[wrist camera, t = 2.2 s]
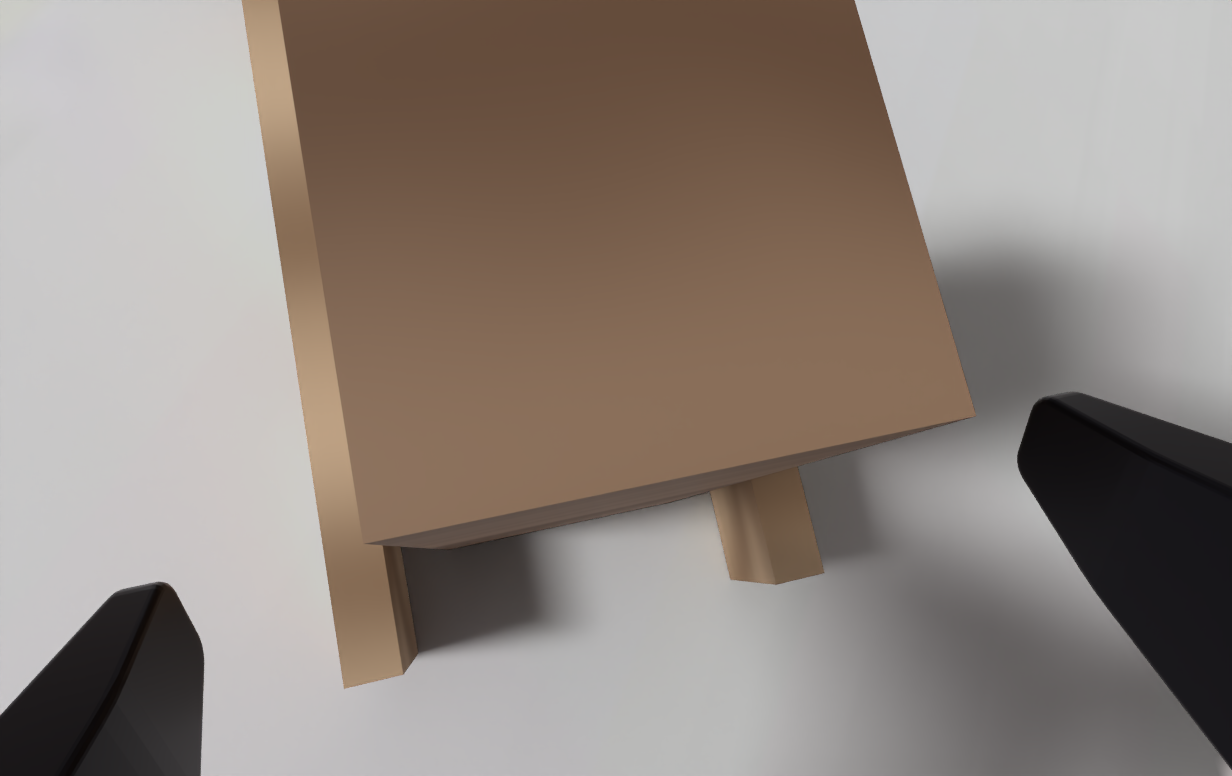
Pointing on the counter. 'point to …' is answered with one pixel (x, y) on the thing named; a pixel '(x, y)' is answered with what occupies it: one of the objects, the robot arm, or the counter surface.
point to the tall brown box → (606, 253)
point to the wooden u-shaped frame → (357, 573)
